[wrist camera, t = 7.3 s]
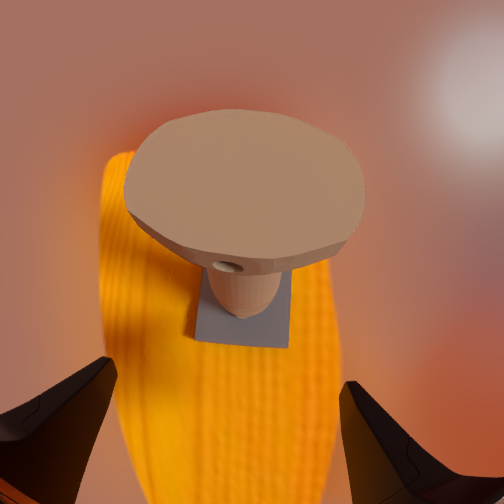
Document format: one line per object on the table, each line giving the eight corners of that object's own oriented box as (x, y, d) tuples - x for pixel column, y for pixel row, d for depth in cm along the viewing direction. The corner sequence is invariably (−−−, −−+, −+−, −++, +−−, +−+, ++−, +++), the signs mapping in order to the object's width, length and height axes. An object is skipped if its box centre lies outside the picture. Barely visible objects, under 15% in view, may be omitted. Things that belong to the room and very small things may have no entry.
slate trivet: (286, 348, 20) (288, 348, 19) (197, 341, 20) (194, 340, 19) (290, 254, 23) (292, 248, 22) (209, 248, 23) (207, 242, 22)
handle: (209, 263, 22) (160, 106, 8) (289, 274, 21) (356, 128, 7) (197, 322, 20) (99, 235, 6) (282, 335, 20) (369, 274, 6)
